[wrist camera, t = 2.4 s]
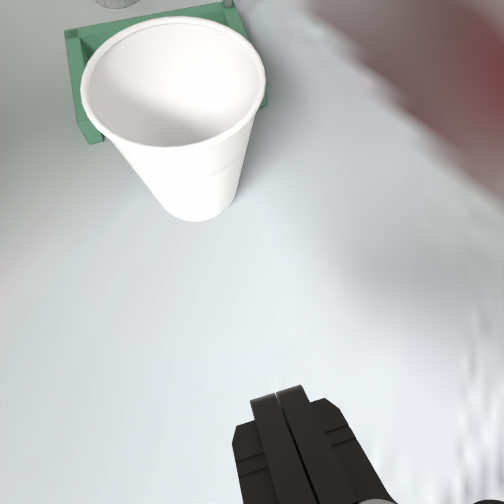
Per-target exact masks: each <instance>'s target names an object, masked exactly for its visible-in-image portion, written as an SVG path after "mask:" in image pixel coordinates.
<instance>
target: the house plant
mask: <svg viewBox="0 0 504 504" xmlns="http://www.w3.org/2000/svg"><path fill="white" fill-rule="evenodd" d="M137 1H138V0H96V2H97V3H99V4H100V5H102V6H104V7H107V8H124V7H127V6H130V5H132V4H134V3H135V2H137Z"/></svg>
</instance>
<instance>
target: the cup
mask: <svg viewBox="0 0 504 504" xmlns="http://www.w3.org/2000/svg"><path fill="white" fill-rule="evenodd" d="M265 86H266V78H265V69H264V66H263V63H262V61H261V58H260V56H259V54H258V53H257V51H256V50H255V48H254V47H253V46H252V44H251V43H250V42H249V41H247V40H246V39H245V38H244V37H243V36H242V35H241V34H239V33H238V32H236V31H234V30H233V29H231V28H229V27H227V26H225V25H222V24H220V23H217V22H215V21H211V20H207V19H203V18H198V17H187V16H172V17H162V18H156V19H150V20H147V21H144V22H141V23H137V24H134V25H132V26H130V27H128V28H126V29H124V30H122V31H120V32H118V33H117V34H115V35H114V36H112V37H111V38H109V39H108V40H106V41H105V42H104V43H103V44H102V45H101V46H100V47H99V48H98V49H97V50H96V51H95V53H94V54H93V55H92V57H91V58H90V60H89V61H88V63H87V65H86V67H85V70H84V72H83V75H82V80H81V87H80V92H81V100H82V105H83V107H84V110H85V112H86V114H87V117H88V118H89V120H90V121H91V122H92V123H93V125H94V126H95V127H96V129H97V130H99V131H100V132H101V133H102V134H104V135H105V136H106V137H107V138H109V139H110V140H111V141H112V142H113V143H114V145H115V146H116V147H117V148H118V150H119V151H120V152H121V154H122V155H123V156H124V157H125V159H126V160H127V161H128V162H129V164H130V165H131V166H132V167H133V169H134V170H135V171H136V172H137V174H138V175H139V176H140V178H141V179H142V180H143V181H144V183H145V184H146V185H147V186H148V188H149V189H150V190H151V192H152V193H153V194H154V195H155V197H156V198H157V199H158V201H159V202H160V203H161V204H162V206H163V207H164V208H165V209H166V210H167V211H168V212H169V213H170V214H171V215H173V216H175V217H177V218H179V219H182V220H186V221H204V220H208V219H211V218H214V217H216V216H218V215H219V214H221V213H222V212H224V211H225V210H226V209H227V208H228V207H229V206H230V204H231V203H232V201H233V199H234V197H235V195H236V191H237V187H238V183H239V178H240V174H241V170H242V166H243V162H244V158H245V153H246V149H247V145H248V141H249V138H250V134H251V130H252V126H253V122H254V117H255V113H256V112H257V110H258V108H259V106H260V104H261V101H262V99H263V97H264V92H265Z"/></svg>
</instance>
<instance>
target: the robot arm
mask: <svg viewBox="0 0 504 504" xmlns="http://www.w3.org/2000/svg"><path fill="white" fill-rule="evenodd" d="M276 396H277V398H276ZM250 404H251V408H252V412H253V416H254V421H251V422H247V423H244V424H241V425H238V426H236V430H235V433H234V437H233V441H232V447H233V452H234V457H235V462H236V467H237V472H238V477H239V483H240V488H241V493H242V498H243V503H244V504H398V503H396V502H395V501H394V500H393V499H392V497H391V496H390V495H389V494H388V492H387V491H386V489H385V487H384V485H383V484H382V482H381V480H380V478H379V477H378V475H377V473H376V472H375V470H374V468H373V466H372V465H371V463H370V461H369V459H368V458H367V456H366V454H365V452H364V451H363V449H362V447H361V445H360V444H359V442H358V441H357V440H356V437H355V435H354V433H353V432H352V430H351V428H349V425H348V423H347V421H346V419H345V418H344V416H343V414H342V413H341V411H340V409H339V408H338V407H336V406H335V405H334V404H332V403H331V402H330V401H328V400H327V399H326V398H323V399H320V400H316V401H313V402H309V400H308V398H307V395H306V393H305V391H304V389H303V387H302V386H301V385H298V386H295V387H292V388H288V389H285V390H282V391H279V392H276V395H275V393H273V394H269V395H266V396H263V397H260V398H256V399H253V400H250ZM474 504H504V502H503V501H499V500H482V501H478V502H476V503H474Z"/></svg>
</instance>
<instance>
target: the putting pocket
mask: <svg viewBox="0 0 504 504" xmlns="http://www.w3.org/2000/svg"><path fill="white" fill-rule="evenodd" d="M172 16H187V17H198V18H203V19H207V20H211V21H215V22H217V23H220V24H222V25H225V26H227V27H229V28H231V29H233V30H234V31H236V32H238V33H239V34H241V35H242V36H243V37H244V38H245V39H246V40H247V41H249V38H248V36H247V34H246V31H245V29H244V26H243V24H242V21H241V19H240V17H239V14H238V12H237V9H236V7H235V5H234V2H233V0H223V1H222V2H217V3H211V4H206V5H200V6H195V7H189V8H184V9H178V10H173V11H168V12H162V13H157V14H151V15H146V16H140V17H135V18H129V19H124V20H118V21H113V22H107V23H102V24H96V25H91V26H85V27H80V28H74V29H69V30H64V34H65V41H66V48H67V55H68V62H69V69H70V76H71V83H72V90H73V97H74V104H75V111H76V118H77V124H78V126H79V127H80V129H81V131H82V133H83V134H84V136H85V138H86V140H87V141H88V143H89V144H94V143H98V142H103V141H104V140H103V135H102V133H101V132H100V131H99V130H97V129H96V127H95V126H94V125H93V123H92V122H91V121H90V120H89V118H88V117H87V114H86V112H85V110H84V107H83V105H82V100H81V92H80V87H81V80H82V75H83V72H84V70H85V67H86V65H87V63H88V61H89V60H90V58H91V57H92V55H93V54H94V53H95V51H96V50H97V49H98V48H99V47H100V46H101V45H102V44H103V43H104V42H105V41H106V40H108V39H109V38H111V37H112V36H114V35H115V34H117V33H118V32H120V31H122V30H124V29H126V28H128V27H130V26H132V25H134V24H137V23H141V22H144V21H147V20H150V19H156V18H162V17H172ZM249 42H250V41H249ZM266 93H267V82H266V86H265V92H264V97H263V99H262V101H261V104H260V106H259V107H263V106H266Z"/></svg>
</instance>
